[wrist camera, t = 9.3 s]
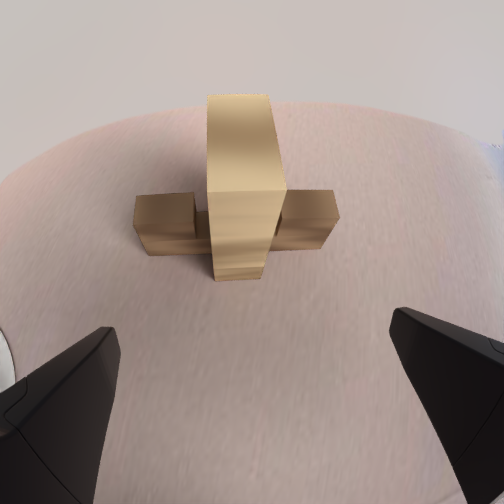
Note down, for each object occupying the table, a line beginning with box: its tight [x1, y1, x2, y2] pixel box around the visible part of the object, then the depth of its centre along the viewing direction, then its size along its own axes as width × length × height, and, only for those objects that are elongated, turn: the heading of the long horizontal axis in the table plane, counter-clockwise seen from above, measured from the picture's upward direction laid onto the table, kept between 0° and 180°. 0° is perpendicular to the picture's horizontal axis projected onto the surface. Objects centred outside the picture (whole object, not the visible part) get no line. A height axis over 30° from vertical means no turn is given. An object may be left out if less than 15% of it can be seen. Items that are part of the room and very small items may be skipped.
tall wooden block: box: [207, 94, 287, 281], centre depth 17 cm, size 6×3×10 cm, turn 5°
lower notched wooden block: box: [133, 190, 340, 256], centre depth 20 cm, size 12×2×4 cm, turn 95°
